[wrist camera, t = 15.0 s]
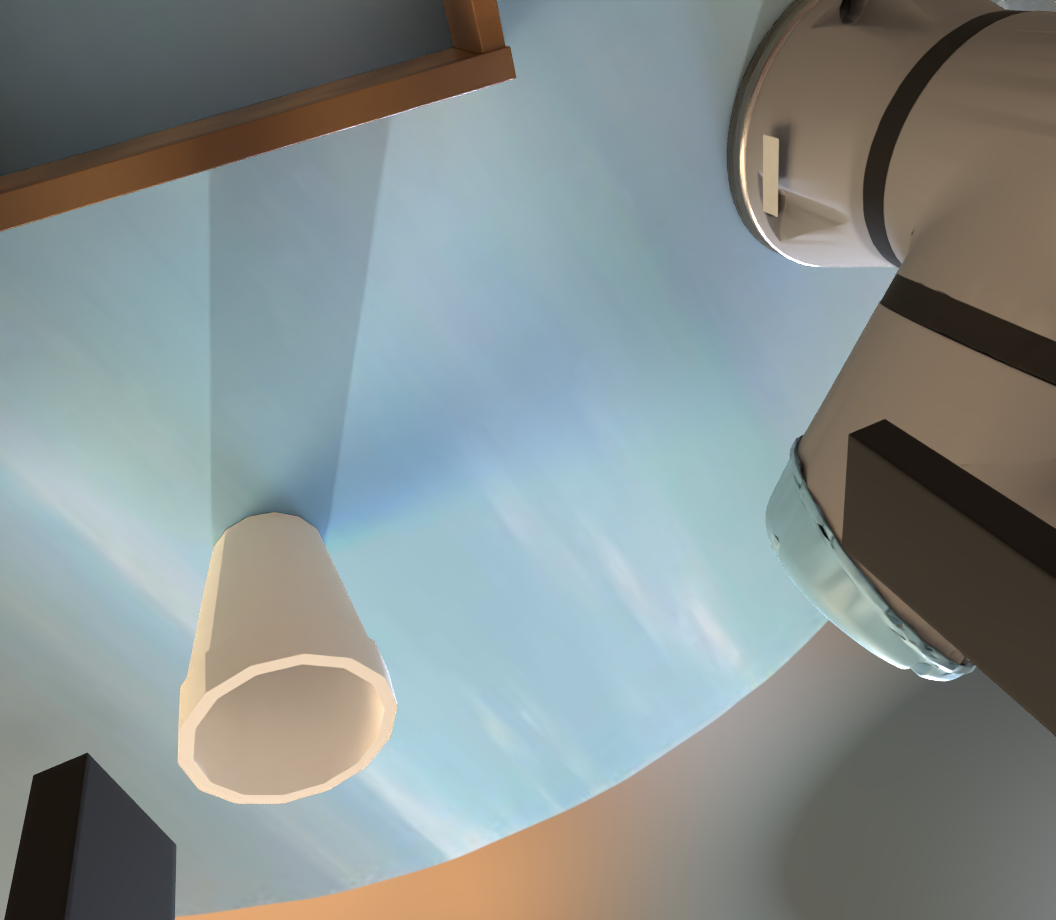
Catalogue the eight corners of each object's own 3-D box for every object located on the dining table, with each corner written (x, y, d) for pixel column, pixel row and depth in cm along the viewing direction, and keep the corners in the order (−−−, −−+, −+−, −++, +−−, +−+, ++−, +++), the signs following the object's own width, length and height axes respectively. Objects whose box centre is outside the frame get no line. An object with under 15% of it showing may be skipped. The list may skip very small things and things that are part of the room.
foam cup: (296, 637, 48) (324, 817, 38) (149, 592, 43) (135, 788, 32) (381, 524, 46) (435, 683, 36) (238, 463, 41) (253, 628, 30)
